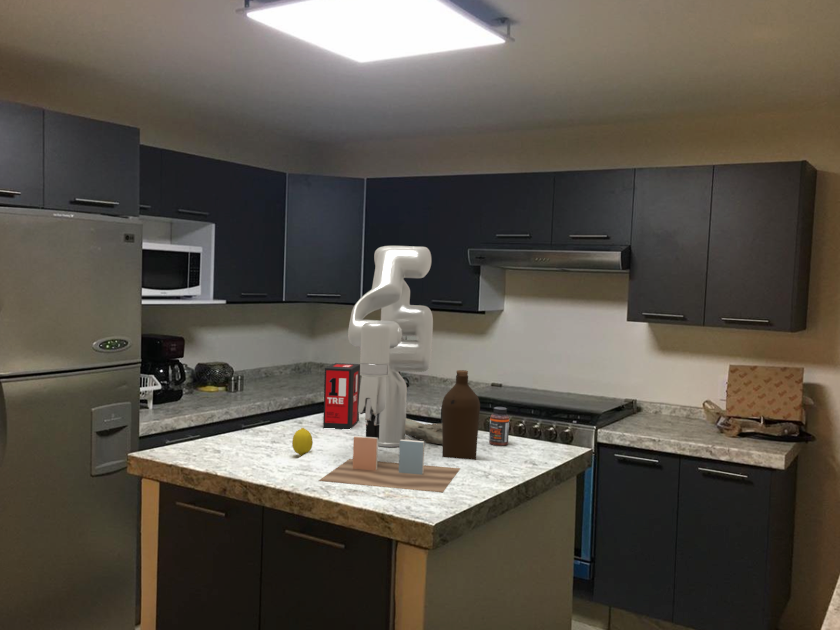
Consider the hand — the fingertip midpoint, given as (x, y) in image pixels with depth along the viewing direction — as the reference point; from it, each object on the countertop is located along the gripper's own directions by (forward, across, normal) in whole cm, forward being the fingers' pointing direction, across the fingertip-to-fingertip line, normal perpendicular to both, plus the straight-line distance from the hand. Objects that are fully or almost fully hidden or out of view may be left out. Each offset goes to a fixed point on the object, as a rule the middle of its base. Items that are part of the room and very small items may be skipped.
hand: (372, 439), depth 200 cm
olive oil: (+8, -19, +20) cm, 29 cm away
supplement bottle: (+8, -44, +28) cm, 53 cm away
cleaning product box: (+8, -56, -27) cm, 63 cm away
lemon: (+8, -7, -22) cm, 24 cm away
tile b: (+6, +6, +12) cm, 15 cm away
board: (+8, +9, +8) cm, 14 cm away
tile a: (+6, +6, 0) cm, 9 cm away
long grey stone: (+8, -49, +2) cm, 50 cm away
